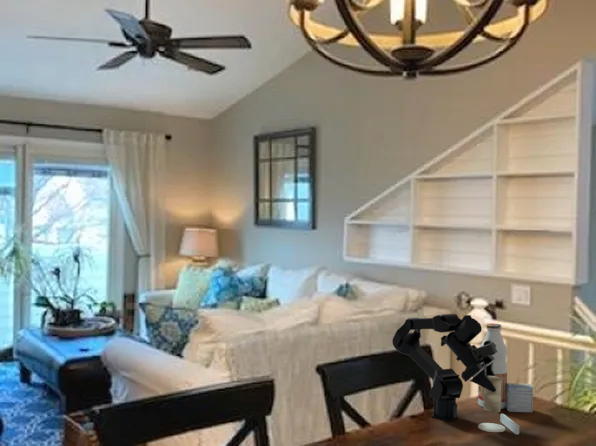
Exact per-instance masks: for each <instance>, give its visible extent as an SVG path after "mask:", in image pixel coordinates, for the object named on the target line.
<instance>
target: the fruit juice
mask: <svg viewBox="0 0 596 446" xmlns="http://www.w3.org/2000/svg"><path fill="white" fill-rule="evenodd" d="M485 327H486V329H487V330H486V335H485V337H484V340H483V341H482V342H481V344H480V345H479V347H481V346H484V342H485V341H488V340H490V341H491V342H494V344H495V345H496V350H497V353H495V354H494V355H492V356H493V357H494V358H495V359H494V360H493V361H492V362H493V368H492V369H493V372H494V374H495V376H497V377H500V378H501V409H502V410H503V409H505V408H506V384H507V383H508V363H507V361H506V358H507V356H508V347H507V345H506V343H504V340H503V338H502V336H503V335H502V334H501V330H502V325H501V324H499V323H494V322H493V323H487V324H486V326H485ZM492 362H490V363H489V364H491V363H492ZM477 386H478V388H477V390H478V391H477V392H478V393H477V398H478V399H477V403H478V405H479V406H480V407H482V408H484V387H482V386H480V385H478V384H477Z"/></svg>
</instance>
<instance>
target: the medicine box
mask: <svg viewBox="0 0 596 446" xmlns="http://www.w3.org/2000/svg"><path fill="white" fill-rule="evenodd" d="M533 401H534V387H533V386H532V385H531V384H530V383H514V382H513V383H512V382H511V383H510V382H509V383H508V382H507V384H506V407H505V408H506V410H507V411H508V412H509V413H511V412H512V413H513V412H514V413H534V412H533V411H534V410H533V405H534V404H533Z"/></svg>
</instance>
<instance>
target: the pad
mask: <svg viewBox="0 0 596 446" xmlns="http://www.w3.org/2000/svg"><path fill="white" fill-rule="evenodd" d="M477 427H478V429H479V430H481V431H484V432H489V433H503V432H505V431H506V426H505V425H503V424H502V425H501V424H499V423H492V422H482V423H479V424H478V426H477Z"/></svg>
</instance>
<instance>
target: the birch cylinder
mask: <svg viewBox="0 0 596 446" xmlns="http://www.w3.org/2000/svg"><path fill="white" fill-rule="evenodd" d="M488 378H489V379H490V381H491V382H492V384H493V385H494V387H495V388H496V391H495V392H492V391H490V390H488V389H486V388H484V407H483V410H484V411H485V412H488V413H492V414H493V413H496V414H497V413H500V412H501V378H500V377H497V376H488Z"/></svg>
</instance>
